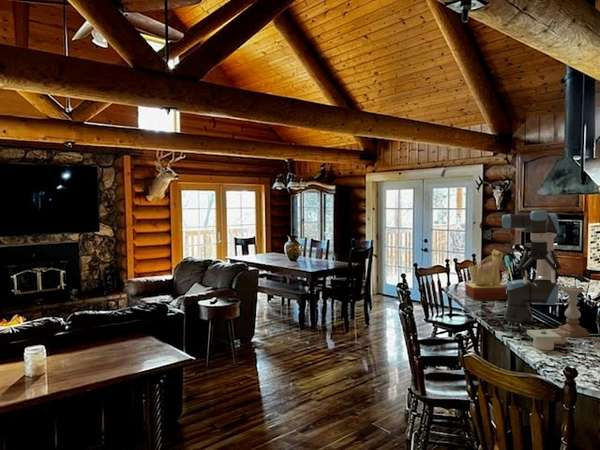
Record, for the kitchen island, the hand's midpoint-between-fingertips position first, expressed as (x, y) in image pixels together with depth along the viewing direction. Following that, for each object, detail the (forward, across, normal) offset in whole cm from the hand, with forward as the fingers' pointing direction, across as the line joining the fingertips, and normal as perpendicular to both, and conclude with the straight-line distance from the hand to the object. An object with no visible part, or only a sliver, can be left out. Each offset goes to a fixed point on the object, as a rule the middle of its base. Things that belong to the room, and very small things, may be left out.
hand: (539, 282), depth 226 cm
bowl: (+29, -4, -14) cm, 32 cm away
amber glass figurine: (+29, +5, +100) cm, 104 cm away
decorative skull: (+29, +20, +139) cm, 144 cm away
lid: (+24, -4, -14) cm, 28 cm away
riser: (+29, +6, -5) cm, 30 cm away
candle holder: (+29, +20, +8) cm, 36 cm away
